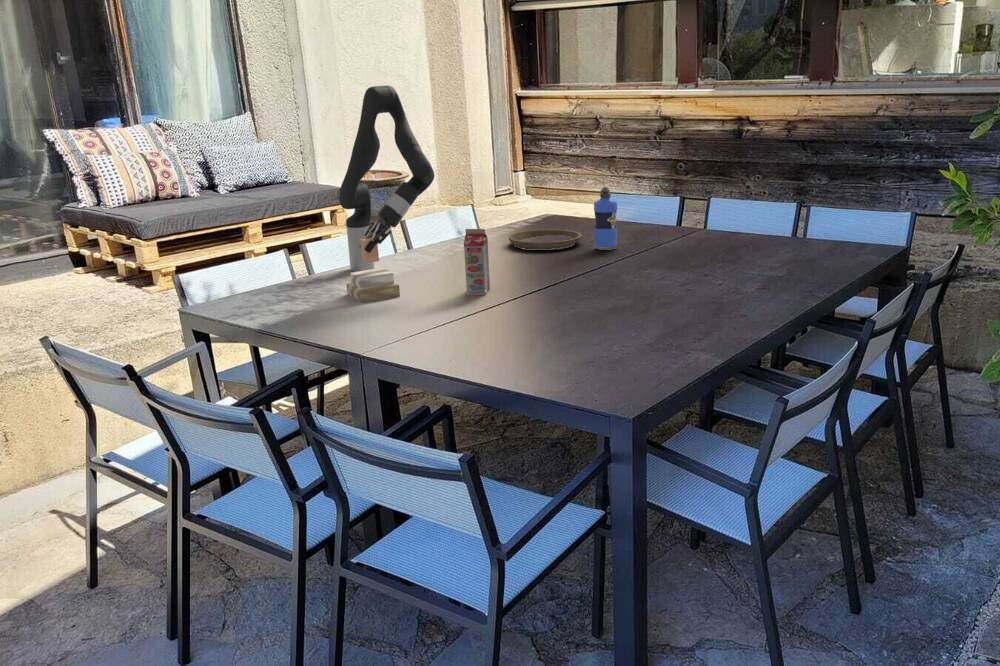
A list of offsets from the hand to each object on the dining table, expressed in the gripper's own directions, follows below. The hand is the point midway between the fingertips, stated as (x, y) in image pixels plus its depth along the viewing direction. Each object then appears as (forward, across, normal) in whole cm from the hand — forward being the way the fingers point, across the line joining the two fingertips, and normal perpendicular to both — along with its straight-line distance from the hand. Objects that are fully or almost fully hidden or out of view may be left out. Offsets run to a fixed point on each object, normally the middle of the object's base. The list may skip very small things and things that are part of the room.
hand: (364, 249), depth 297 cm
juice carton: (-11, +19, +35) cm, 41 cm away
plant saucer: (-54, -35, +78) cm, 101 cm away
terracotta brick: (+2, 0, +4) cm, 5 cm away
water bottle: (-64, -12, +88) cm, 110 cm away
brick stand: (+10, 0, +13) cm, 16 cm away
